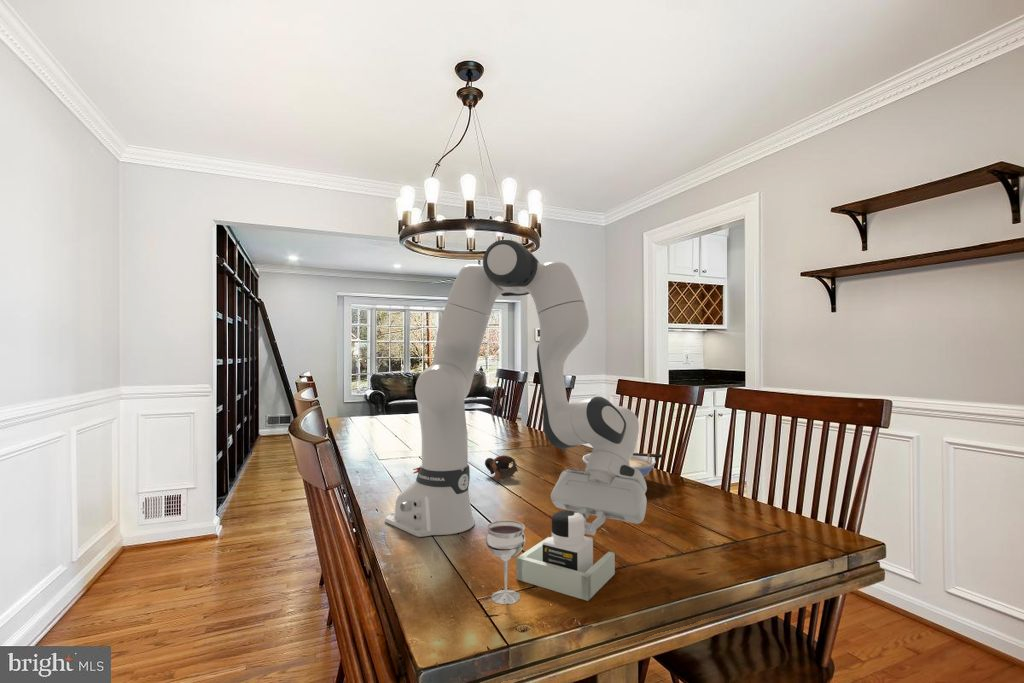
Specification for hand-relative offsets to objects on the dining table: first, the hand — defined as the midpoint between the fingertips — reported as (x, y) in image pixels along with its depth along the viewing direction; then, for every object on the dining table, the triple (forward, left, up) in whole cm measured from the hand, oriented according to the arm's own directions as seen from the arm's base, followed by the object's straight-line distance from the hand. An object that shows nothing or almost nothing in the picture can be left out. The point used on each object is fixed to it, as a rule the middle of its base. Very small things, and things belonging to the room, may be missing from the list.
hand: (586, 532), depth 101 cm
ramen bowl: (-16, +58, -6) cm, 61 cm away
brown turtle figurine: (-50, +42, -6) cm, 66 cm away
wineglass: (-5, -21, -6) cm, 23 cm away
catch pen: (0, -9, -5) cm, 10 cm away
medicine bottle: (+1, -9, -6) cm, 11 cm away
